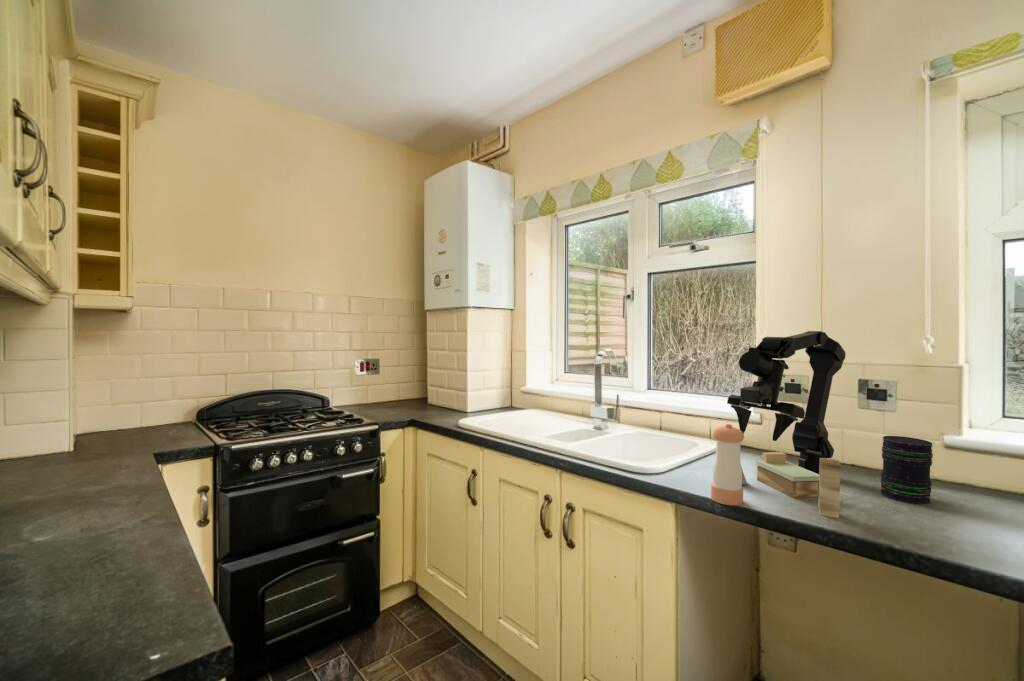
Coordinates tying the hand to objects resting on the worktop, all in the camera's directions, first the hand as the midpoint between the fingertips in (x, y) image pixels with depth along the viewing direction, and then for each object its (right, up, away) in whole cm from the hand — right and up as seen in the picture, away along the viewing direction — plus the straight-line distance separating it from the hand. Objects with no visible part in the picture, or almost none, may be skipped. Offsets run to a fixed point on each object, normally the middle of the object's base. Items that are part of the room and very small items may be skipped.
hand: (757, 436), depth 122 cm
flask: (-4, -14, +6) cm, 16 cm away
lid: (+9, -10, +1) cm, 13 cm away
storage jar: (+36, -15, -5) cm, 39 cm away
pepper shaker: (-12, -14, -9) cm, 21 cm away
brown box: (+8, -14, -16) cm, 23 cm away
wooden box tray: (+9, -14, +1) cm, 17 cm away
